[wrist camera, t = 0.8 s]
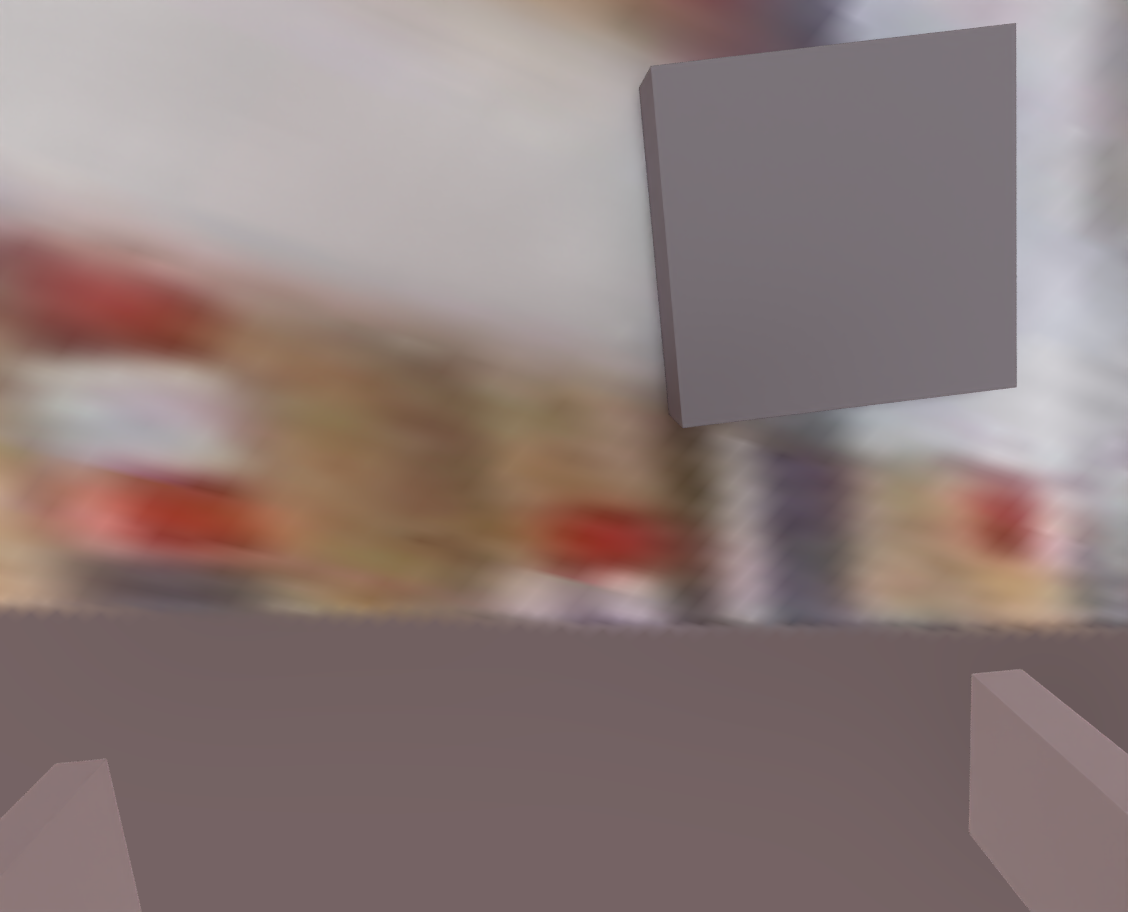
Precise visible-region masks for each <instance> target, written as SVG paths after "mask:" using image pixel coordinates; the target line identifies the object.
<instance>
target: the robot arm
mask: <svg viewBox="0 0 1128 912" xmlns="http://www.w3.org/2000/svg"><path fill="white" fill-rule="evenodd" d="M971 684H972V685H971V687H972V688H971V743H970V800H969V802H970V803H969V834H970V835H971V836H972V837H973V839H974V840H975V841H976V843H977V844H978V845H979V846H980V848H981V849H982V850H983V851H984V853H985V854H986V855H987V856H988V858H989V859H990V860H991V862H992V863H993V864H994V866H995V867H996V868H997V869H998V870H999V871H1000V873H1001V874H1002V876H1003V877H1004V878H1005V880H1006V881H1007V882H1008V883H1009V885H1010V886H1011V887H1012V888H1013V890H1014V891H1015V892H1016V894H1017V895H1018V896H1019V897H1020V899H1021V900H1022V901H1023V903H1024V904H1025V905H1026V906H1027V908H1028V909H1029V910H1030V911H1031V912H1128V754H1127V753H1126V752H1125V751H1123V750H1122V749H1121V748H1119V747H1118V746H1117V745H1116V744H1114V743H1113V742H1112V741H1111V740H1110V739H1108V738H1107V737H1106V736H1104V735H1103V734H1102V733H1101V732H1100V731H1098V730H1097V729H1096V728H1095V727H1093V726H1092V725H1091V724H1090V723H1088V722H1087V721H1086V720H1085V719H1083V718H1082V717H1081V716H1080V715H1078V714H1077V713H1076V712H1074V711H1073V710H1072V709H1071V708H1070V707H1068V706H1067V705H1066V704H1065V703H1063V702H1062V701H1060V700H1059V699H1058V698H1057V697H1056V696H1054V695H1053V694H1052V693H1051V692H1049V691H1048V690H1047V689H1046V688H1044V687H1043V686H1042V685H1041V684H1039V683H1038V682H1037V681H1036V680H1034V679H1033V678H1032V677H1031V676H1029V675H1028V674H1027V673H1026V672H1024V671H1023V670H1022V669H1017V670H1007V671H997V672H986V673H977V674H972V682H971ZM0 912H142V911H141V907H140V902H139V898H138V893H137V889H136V885H135V880H134V876H133V872H132V867H131V863H130V859H129V854H128V850H127V846H126V841H125V837H124V833H123V828H122V824H121V819H120V815H119V811H118V806H117V802H116V798H115V793H114V789H113V784H112V780H111V776H110V771H109V767H108V763H107V759H98V760H88V761H77V762H67V763H58V764H55V765H54V766H53V767H52V768H51V769H50V770H49V771H48V772H47V773H46V774H45V775H44V776H43V777H42V778H41V779H40V780H39V781H38V782H37V783H36V784H35V785H34V786H33V787H32V788H31V789H30V790H29V791H28V792H27V793H26V794H25V795H24V796H23V797H22V798H21V799H20V800H19V801H18V802H17V803H16V804H15V805H14V806H13V807H12V808H11V809H10V810H9V811H8V812H7V813H6V814H5V815H4V816H3V817H2V818H0Z"/></svg>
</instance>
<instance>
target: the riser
mask: <svg viewBox="0 0 1128 912" xmlns="http://www.w3.org/2000/svg"><path fill="white" fill-rule="evenodd" d="M639 94H640V104H641V115H642V126H643V137H644V148H645V159H646V170H647V181H648V192H649V203H650V214H651V224H652V235H653V246H654V257H655V268H656V279H657V290H658V301H659V312H660V323H661V334H662V344H663V355H664V366H665V377H666V388H667V399H668V410H669V415H670V416H671V417H672V418H673V419H674V420H675V421H676V422H677V423H678V424H679V425H680V426H681V427H682V428H686V427H695V426H703V425H711V424H719V423H727V422H736V421H744V420H752V419H760V418H768V417H777V416H785V415H793V414H801V413H809V412H817V411H826V410H834V409H842V408H850V407H858V406H867V405H875V404H883V403H891V402H899V401H908V400H916V399H924V398H932V397H940V396H949V395H957V394H965V393H973V392H981V391H990V390H998V389H1006V388H1014V387H1017V356H1016V23H1013V24H1004V25H996V26H987V27H979V28H970V29H962V30H953V31H944V32H936V33H927V34H919V35H910V36H902V37H893V38H885V39H876V40H868V41H859V42H851V43H842V44H834V45H825V46H817V47H808V48H800V49H791V50H783V51H774V52H766V53H757V54H749V55H740V56H732V57H723V58H715V59H706V60H698V61H689V62H681V63H672V64H664V65H655V66H651V67H650V69H649V70H648V72H647V74H646V76H645V78H644V80H643V82H642V83H641V85H640V87H639Z"/></svg>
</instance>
